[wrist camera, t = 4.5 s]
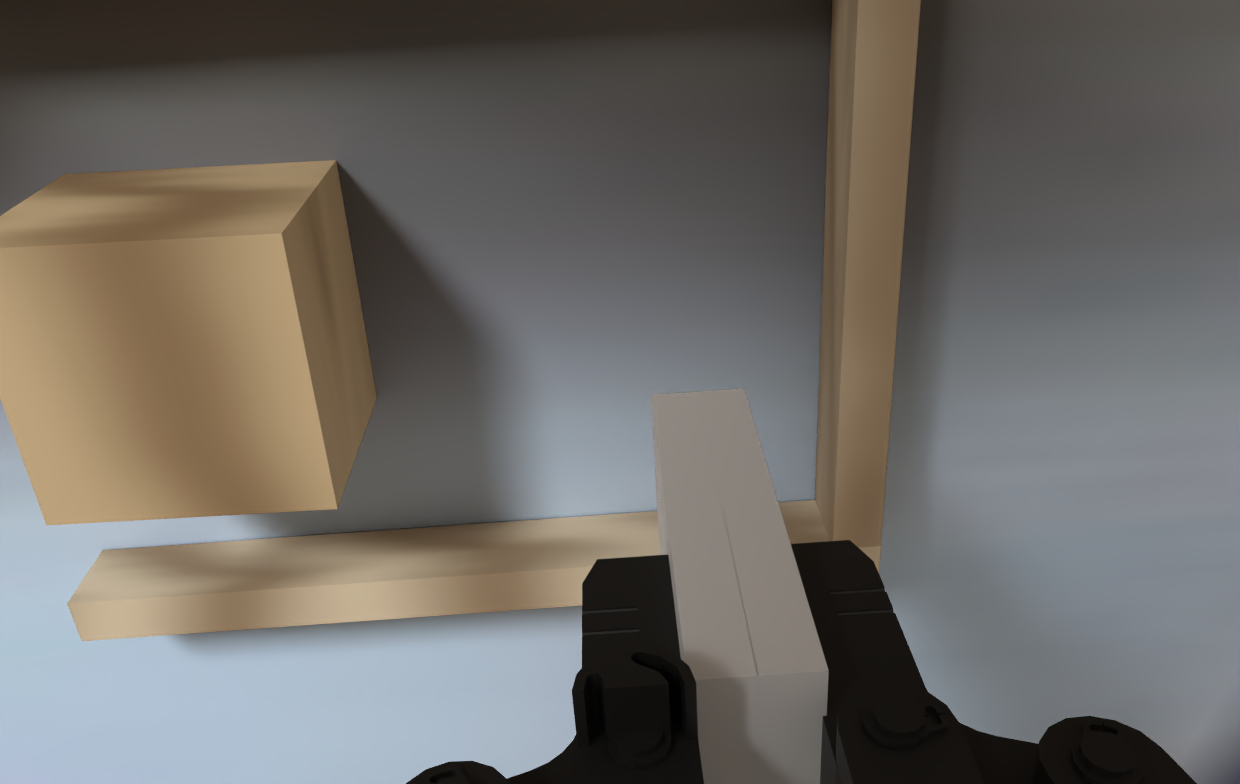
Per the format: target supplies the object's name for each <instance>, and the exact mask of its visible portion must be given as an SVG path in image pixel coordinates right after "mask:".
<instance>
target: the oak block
mask: <svg viewBox="0 0 1240 784" xmlns="http://www.w3.org/2000/svg"><path fill="white" fill-rule="evenodd" d="M0 398H1V401H2V404H3V407H4V409H5V412H6V415H7V418H8V420H9V423H10V426H11V429H12V431H13V434H14V437H15V440H16V442H17V445H18V448H19V451H20V453H21V456H22V459H23V462H24V464H25V467H26V470H27V473H28V476H29V478H30V481H31V484H32V487H33V489H34V492H35V495H36V498H37V500H38V503H39V506H40V509H41V511H42V514H43V517H44V520H45V522H46V525H61V524H79V523H97V522H115V521H132V520H150V519H168V518H186V517H204V516H222V515H240V514H258V513H276V512H294V511H312V510H330V509H338V506H339V503H340V500H341V498H342V495H343V492H344V489H345V486H346V483H347V481H348V478H349V475H350V472H351V469H352V467H353V464H354V461H355V458H356V455H357V453H358V450H359V447H360V444H361V441H362V438H363V436H364V433H365V430H366V427H367V424H368V422H369V419H370V416H371V413H372V410H373V408H374V405H375V402H376V399H377V395H376V389H375V384H374V378H373V372H372V366H371V360H370V354H369V349H368V343H367V337H366V331H365V325H364V320H363V314H362V308H361V302H360V296H359V290H358V285H357V279H356V273H355V267H354V261H353V255H352V250H351V244H350V238H349V232H348V226H347V220H346V215H345V209H344V203H343V197H342V191H341V186H340V180H339V174H338V168H337V162H336V160H331V161H311V162H292V163H273V164H253V165H234V166H214V167H195V168H175V169H156V170H136V171H117V172H97V173H78V174H64V175H62V176H61V177H59V178H58V179H56V180H54V181H53V182H51V183H50V184H48V185H47V186H45V187H44V188H42V189H41V190H39V191H38V192H36V193H35V194H33V195H32V196H30V197H28V198H27V199H25V200H24V201H22V202H21V203H19V204H18V205H16V206H15V207H13V208H12V209H10V210H9V211H7V212H6V213H4V214H2V215H1V216H0Z"/></svg>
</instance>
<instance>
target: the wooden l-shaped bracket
mask: <svg viewBox="0 0 1240 784" xmlns="http://www.w3.org/2000/svg"><path fill="white" fill-rule="evenodd" d="M920 3H921V0H832V27H831V55H830V84H829V112H828V140H827V169H826V197H825V225H824V254H823V282H822V310H821V339H820V367H819V395H818V423H817V452H816V480H815V500H805V501H791V502H778V504H779V507H780V510H781V514H782V517H783V520H784V524H785V527H786V530H787V534H788V537H789V540H790V544H796V543H811V542H826V541H841V540H850V541H851V542H853V543H854V544H855V545H856V546H857V547H858V548H859V549H860V550H862V551H863V552H864V553H865V554H866V555H867V556H868V557H869V558H871V559H872V560H873V561H874V563H875V566H876V568H877V570H878V573H879V565H880V552H881V538H882V524H883V510H884V497H885V483H886V469H887V456H888V442H889V428H890V415H891V401H892V387H893V373H894V360H895V346H896V332H897V319H898V305H899V291H900V278H901V264H902V250H903V236H904V223H905V209H906V195H907V182H908V168H909V154H910V140H911V127H912V113H913V99H914V86H915V72H916V58H917V45H918V31H919V17H920ZM653 555H661V551H660V542H659V532H658V512H657V511H650V512H636V513H621V514H607V515H593V516H579V517H565V518H551V519H537V520H523V521H508V522H494V523H480V524H466V525H452V526H438V527H424V528H409V529H395V530H381V531H367V532H353V533H339V534H325V535H311V536H296V537H282V538H268V539H254V540H240V541H226V542H212V543H198V544H183V545H169V546H155V547H141V548H127V549H113V550H103V551H102V552H101V554H100V555H99V557H98V558H97V560H96V561H95V563H94V564H93V566H92V567H91V569H90V570H89V572H88V573H87V575H86V576H85V578H84V579H83V581H82V582H81V584H80V585H79V587H78V588H77V590H76V591H75V593H74V594H73V596H72V597H71V599H70V600H69V602H68V603H67V604H68V607H69V610H70V612H71V615H72V617H73V620H74V622H75V625H76V627H77V630H78V633H79V635H80V638H81V640H82V641H91V640H105V639H119V638H133V637H147V636H161V635H175V634H189V633H203V632H217V631H231V630H245V629H259V628H273V627H287V626H301V625H315V624H329V623H343V622H357V621H371V620H385V619H399V618H413V617H427V616H441V615H455V614H469V613H483V612H497V611H511V610H525V609H539V608H553V607H567V606H581V605H582V583H583V581H584V580H585V578H586V577H587V575H588V573H589V572H590V570H591V568H592V567H593V565H594V564H595V562H596V560H597V559H608V558H623V557H638V556H653Z"/></svg>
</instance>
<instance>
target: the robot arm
mask: <svg viewBox="0 0 1240 784" xmlns="http://www.w3.org/2000/svg"><path fill="white" fill-rule="evenodd" d="M652 414H653V434H654V453H655V473H656V493H657V512H658V532H659V542H660V551H661V555H653V556H638V557H623V558H608V559H597V560H596V562H595V564H594V565H593V567H592V568H591V570H590V572H589V573H588V575H587V577H586V578H585V580H584V581H583V583H582V669H581V670H580V671H579V672H578V673H577V675H576V678H575V682H574V685H573V689H572V696H573V705H574V715H575V724H576V736H575V738H574V740H573V741H572V742H571V743H570V745H569V746H568V747H567V748H566V749H565V750H564V751H563V752H562V753H561V754H560V755H558V756H557V757H556V758H554V759H553V760H551V761H550V762H549V763H547V764H544V765H542V766H540V767H538V768H536V769H533V770H531V771H528V772H525V773H522V774H520V775H517V776H514V777H511V778H508V779H506V778H505V777H504V776H503V775H502V774H500V773H499V772H498V771H497V770H496V769H495V768H493V767H491V766H487V765H484V764H481V763H477V762H474V761H458V762H447V763H444V764H441V765H438V766H435V767H432V768H429V769H426V770H425V771H423V772H422V773H420V774H419V775H417V776H416V777H415V778H413V779H412V780H410V781H409V782H407V783H406V784H1197V783H1196V782H1195V781H1194V780H1193V779H1192V778H1191V777H1190V776H1189V775H1188V774H1187V773H1186V772H1185V771H1184V770H1183V769H1182V768H1181V767H1180V766H1179V765H1178V764H1177V763H1176V762H1175V761H1174V760H1173V759H1172V758H1171V757H1170V756H1169V755H1168V754H1167V753H1166V752H1165V751H1164V750H1163V749H1162V748H1161V747H1160V746H1159V745H1157V744H1156V743H1155V742H1153V741H1152V740H1151V739H1149V738H1148V737H1147V736H1146V735H1144V734H1143V733H1142V732H1140V731H1138V730H1136V729H1133V728H1131V727H1129V726H1127V725H1124V724H1122V723H1120V722H1117V721H1115V720H1109V719H1103V718H1098V717H1092V716H1085V717H1075V718H1066V719H1064V720H1062V721H1060V722H1058V723H1056V724H1054V725H1052V726H1050V727H1049V728H1048V729H1047V731H1046V732H1045V734H1044V735H1043V737H1042V738H1041V740H1040V741H1039V744H1036V743H1031V742H1025V741H1020V740H1014V739H1009V738H1003V737H998V736H994V735H990V734H987V733H983V732H979V731H976V730H974V729H972V728H970V727H968V726H965V725H963V724H961V723H959V722H958V721H957V719H956V718H955V716H954V715H953V714H952V712H951V711H950V709H949V708H948V706H947V705H946V704H944V703H943V702H941V701H940V700H939V699H937V698H936V697H934V696H933V695H931V694H930V693H929V692H928V691H927V690H926V688H925V685H924V683H923V680H922V678H921V675H920V673H919V670H918V668H917V666H916V663H915V661H914V658H913V656H912V653H911V651H910V649H909V646H908V644H907V641H906V639H905V636H904V634H903V631H902V629H901V627H900V624H899V622H898V619H897V617H896V614H895V613H893V607H892V605H891V602H890V600H889V597H888V595H887V592H885V590H884V585H883V583H882V580H881V578H880V575H879V573H878V570H877V568H876V566H875V563H874V561H873V560H872V559H871V558H869V557H868V556H867V555H866V554H865V553H864V552H863V551H862V550H860V549H859V548H858V547H857V546H856V545H855V544H854V543H853V542H851V541H850V540H841V541H826V542H811V543H796V544H790V540H789V537H788V534H787V530H786V527H785V524H784V520H783V517H782V514H781V510H780V507H779V504H778V500H777V497H776V494H775V490H774V487H773V484H772V480H771V477H770V474H769V470H768V467H767V464H766V460H765V457H764V454H763V450H762V447H761V444H760V440H759V437H758V434H757V430H756V427H755V424H754V420H753V417H752V414H751V410H750V407H749V404H748V400H747V397H746V394H745V390H744V388H743V389H728V390H713V391H698V392H683V393H668V394H653V395H652Z"/></svg>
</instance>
